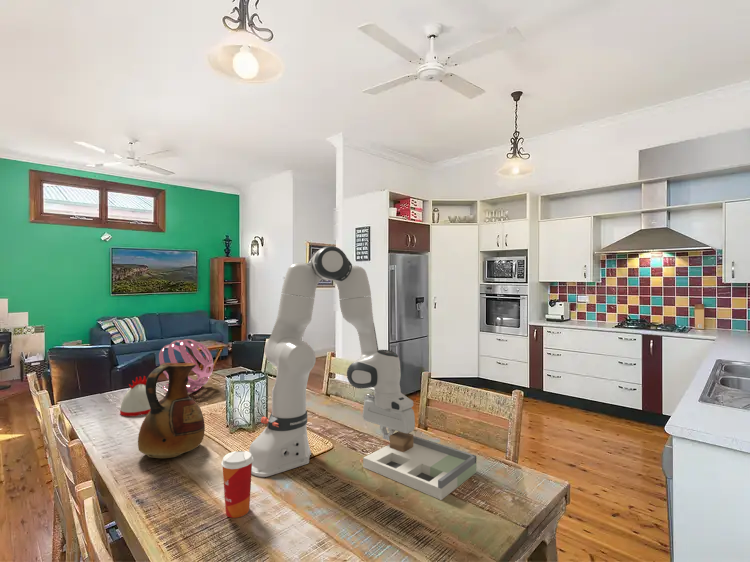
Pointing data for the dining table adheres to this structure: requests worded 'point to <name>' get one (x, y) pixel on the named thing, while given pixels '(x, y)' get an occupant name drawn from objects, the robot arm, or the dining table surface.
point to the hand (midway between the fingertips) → (387, 439)
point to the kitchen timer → (135, 399)
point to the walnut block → (401, 441)
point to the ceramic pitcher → (171, 415)
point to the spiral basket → (190, 359)
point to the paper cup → (237, 482)
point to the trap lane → (424, 466)
